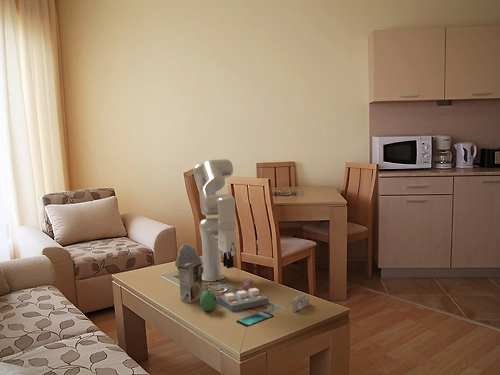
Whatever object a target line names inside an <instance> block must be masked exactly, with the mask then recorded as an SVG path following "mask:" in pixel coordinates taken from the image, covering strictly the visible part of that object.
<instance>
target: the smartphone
mask: <svg viewBox="0 0 500 375" xmlns="http://www.w3.org/2000/svg"><path fill="white" fill-rule="evenodd" d="M274 317H275V316H274V314H271V313H270V312H269V313H268V312H266V311H264V310H262V311H260V312H256V313H254V314H252V315H249V316H245V317H243V318H240V319H237V320H235V321H236V323H238V324H239V325H242V326H244V327H245V328H247V327H248V328H249V327H251V326H253V325H257V324H258V323H261V322H263V321H266V320H268V319H271V318H274Z"/></svg>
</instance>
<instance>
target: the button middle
mask: <svg viewBox="0 0 500 375" xmlns="http://www.w3.org/2000/svg"><path fill="white" fill-rule="evenodd" d="M235 293H237V297H238V298H240V299H241V298H246V297H247V292H246V291H244V290H242V291H239V290H237V291H236V292H235Z"/></svg>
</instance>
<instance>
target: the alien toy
mask: <svg viewBox="0 0 500 375" xmlns="http://www.w3.org/2000/svg"><path fill="white" fill-rule="evenodd" d="M209 288H210V286H205V289H206V291H203V294H202V295H201V297H200V298H199V304H200V307H201V308H202V309H203V310H204V311H206V312H210V311H213V310H214V309H215V307H216V305H217V304H218V303H219V302H218V298H217V296H216V294H215V292H213V291H211V290H210V289H209Z"/></svg>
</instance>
